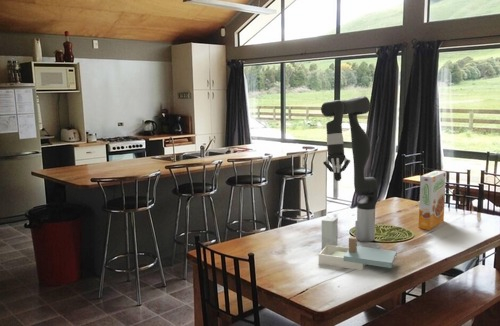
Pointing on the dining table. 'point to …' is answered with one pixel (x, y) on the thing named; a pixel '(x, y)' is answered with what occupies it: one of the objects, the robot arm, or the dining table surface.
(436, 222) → the cereal box
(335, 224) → the skincare box
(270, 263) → the dining table surface
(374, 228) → the robot arm
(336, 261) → the box
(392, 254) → the lid
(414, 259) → the dining table surface
